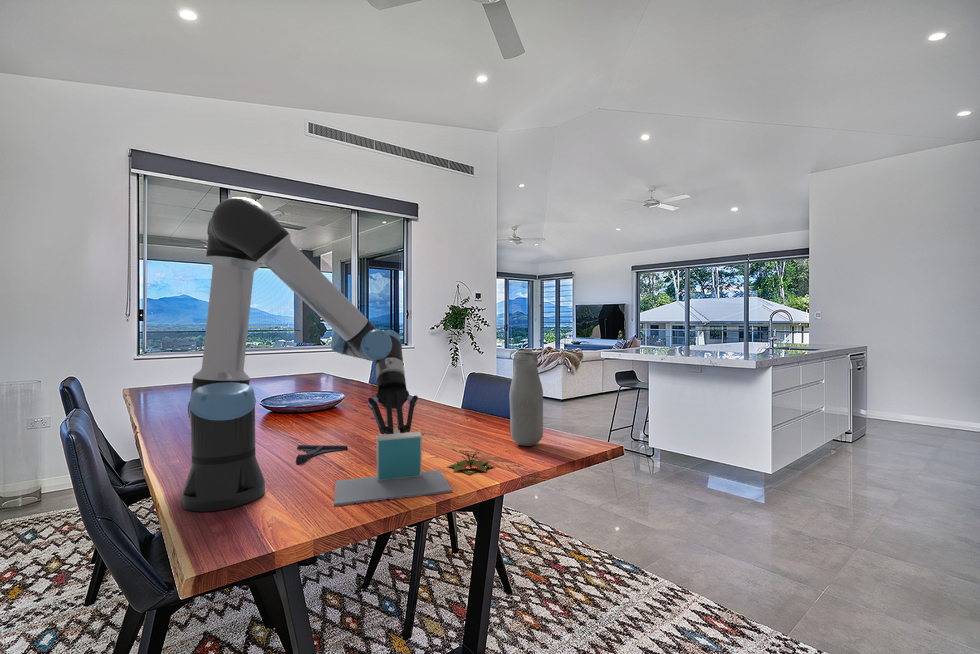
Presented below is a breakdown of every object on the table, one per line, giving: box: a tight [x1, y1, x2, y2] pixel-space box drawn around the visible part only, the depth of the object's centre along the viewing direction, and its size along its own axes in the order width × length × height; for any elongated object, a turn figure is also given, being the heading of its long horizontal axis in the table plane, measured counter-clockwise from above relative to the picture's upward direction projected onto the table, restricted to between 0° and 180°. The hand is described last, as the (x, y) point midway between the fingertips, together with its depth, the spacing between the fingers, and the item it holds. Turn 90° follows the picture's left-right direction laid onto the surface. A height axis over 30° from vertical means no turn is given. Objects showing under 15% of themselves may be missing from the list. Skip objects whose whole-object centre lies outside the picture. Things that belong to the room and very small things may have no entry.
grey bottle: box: [508, 349, 544, 447], centre depth 136 cm, size 10×10×28 cm
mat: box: [333, 469, 453, 507], centre depth 102 cm, size 24×14×1 cm, turn 107°
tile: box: [376, 431, 423, 481], centre depth 106 cm, size 10×3×10 cm, turn 107°
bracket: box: [295, 444, 349, 465], centre depth 127 cm, size 14×15×3 cm
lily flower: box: [446, 449, 495, 476], centre depth 115 cm, size 12×12×5 cm
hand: (398, 456), depth 109 cm, fingers closed
